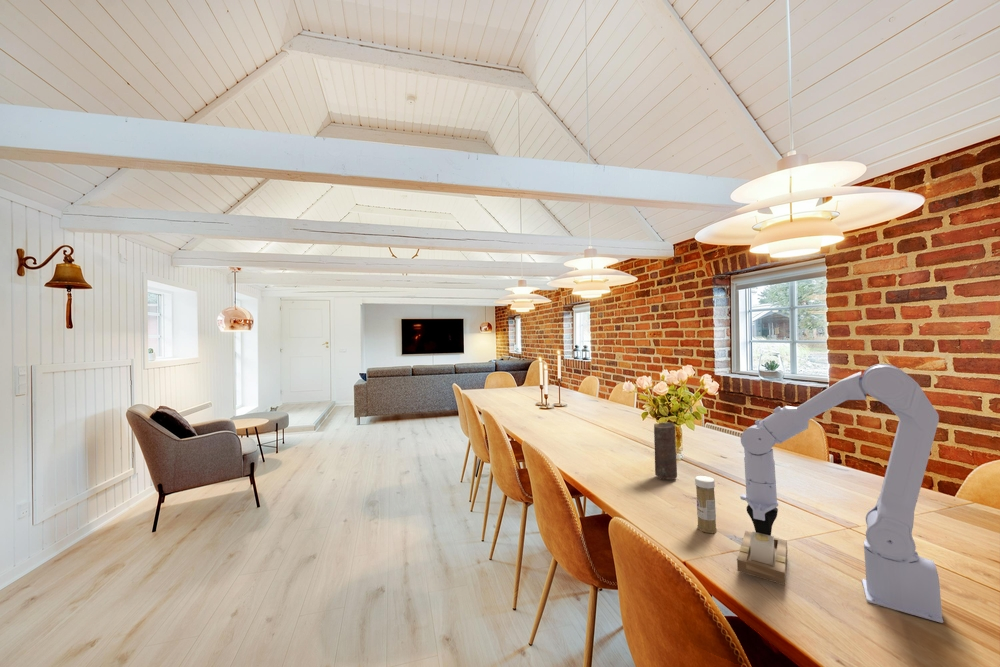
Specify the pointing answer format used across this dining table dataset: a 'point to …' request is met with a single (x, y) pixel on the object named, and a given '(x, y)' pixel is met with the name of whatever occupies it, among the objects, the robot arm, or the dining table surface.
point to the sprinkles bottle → (706, 504)
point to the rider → (762, 548)
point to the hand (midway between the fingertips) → (763, 540)
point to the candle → (665, 450)
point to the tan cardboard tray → (761, 569)
